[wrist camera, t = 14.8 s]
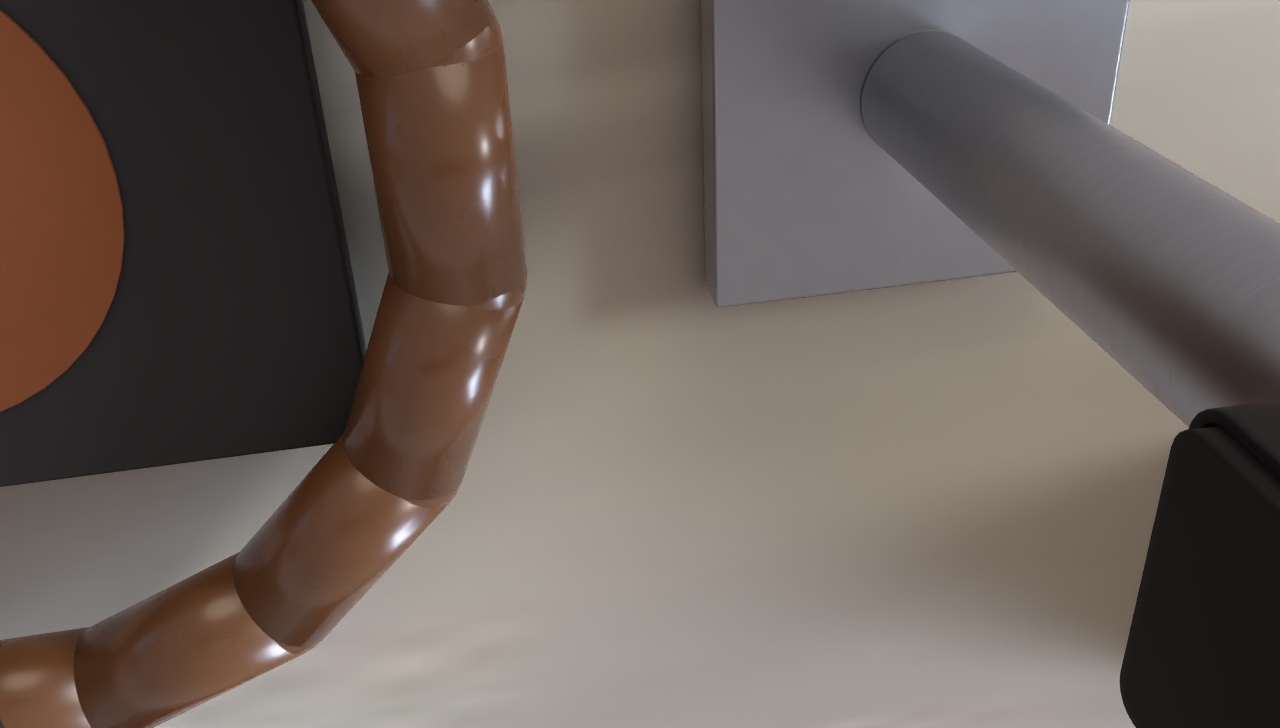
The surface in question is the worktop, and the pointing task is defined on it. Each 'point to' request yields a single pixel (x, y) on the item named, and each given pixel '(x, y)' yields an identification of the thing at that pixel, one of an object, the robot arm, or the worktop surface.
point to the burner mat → (167, 238)
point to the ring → (382, 405)
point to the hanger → (977, 180)
